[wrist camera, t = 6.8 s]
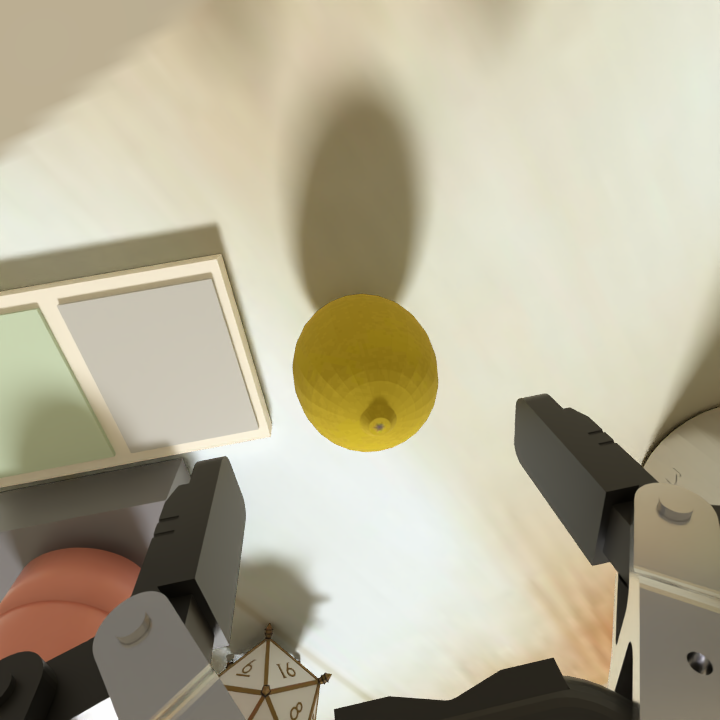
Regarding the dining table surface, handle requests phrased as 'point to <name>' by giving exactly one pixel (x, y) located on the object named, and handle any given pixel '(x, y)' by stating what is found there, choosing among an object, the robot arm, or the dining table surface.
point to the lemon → (365, 373)
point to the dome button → (63, 600)
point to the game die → (272, 684)
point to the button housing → (86, 515)
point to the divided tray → (124, 370)
